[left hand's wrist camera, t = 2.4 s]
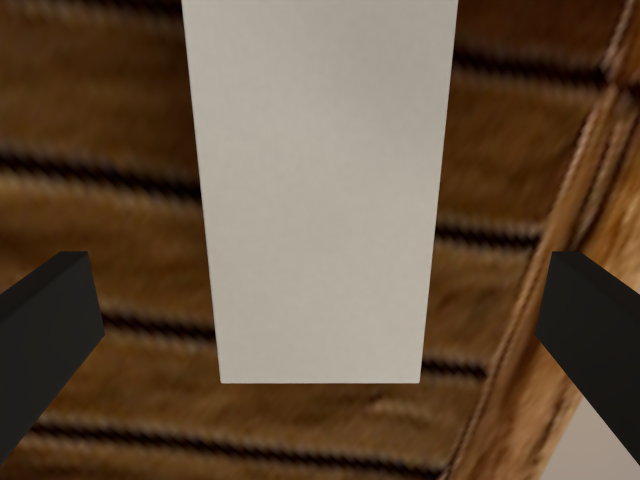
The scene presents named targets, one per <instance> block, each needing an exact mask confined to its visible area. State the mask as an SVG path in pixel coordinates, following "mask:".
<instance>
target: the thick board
mask: <svg viewBox="0 0 640 480" xmlns="http://www.w3.org/2000/svg"><path fill="white" fill-rule="evenodd" d="M457 6H458V0H182V10H183V20H184V30H185V39H186V49H187V59H188V69H189V78H190V88H191V98H192V108H193V117H194V127H195V137H196V147H197V156H198V166H199V176H200V186H201V196H202V205H203V215H204V225H205V235H206V244H207V254H208V264H209V274H210V283H211V293H212V303H213V313H214V322H215V332H216V342H217V352H218V361H219V371H220V381H221V383H419V381H420V372H421V362H422V352H423V342H424V332H425V322H426V312H427V303H428V293H429V283H430V273H431V263H432V253H433V243H434V233H435V224H436V214H437V204H438V194H439V184H440V174H441V164H442V155H443V145H444V135H445V125H446V115H447V105H448V95H449V85H450V76H451V66H452V56H453V46H454V36H455V26H456V16H457Z"/></svg>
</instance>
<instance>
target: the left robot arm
mask: <svg viewBox="0 0 640 480" xmlns="http://www.w3.org/2000/svg"><path fill="white" fill-rule="evenodd" d="M104 335H105V332H104V327H103V322H102V318H101V313H100V308H99V303H98V299H97V294H96V289H95V284H94V280H93V275H92V270H91V265H90V261H89V256H88V252H59V253H58V254H56V255H55V256H53V257H52V258H51V259H49V260H48V261H47V262H45V263H44V264H42V265H41V266H40V267H38V268H37V269H35V270H34V271H33V272H31V273H30V274H28V275H27V276H26V277H24V278H23V279H21V280H20V281H19V282H17V283H16V284H14V285H13V286H12V287H10V288H9V289H7V290H6V291H5V292H3V293H2V294H0V465H1V464H2V463H3V462H4V460H5V459H6V458H7V457H8V455H9V454H10V453H11V452H12V450H13V449H14V448H15V447H16V445H17V444H18V443H19V442H20V440H21V439H22V438H23V437H24V435H25V434H26V433H27V432H28V430H29V429H30V428H31V427H32V425H33V424H34V423H35V422H36V420H37V419H38V418H39V417H40V415H41V414H42V413H43V412H44V410H45V409H46V408H47V407H48V405H49V404H50V403H51V402H52V400H53V399H54V398H55V397H56V395H57V394H58V393H59V392H60V390H61V389H62V388H63V387H64V385H65V384H66V383H67V382H68V380H69V379H70V378H71V377H72V375H73V374H74V373H75V372H76V370H77V369H78V368H79V367H80V365H81V364H82V363H83V362H84V360H85V359H86V358H87V357H88V355H89V354H90V353H91V352H92V350H93V349H94V348H95V347H96V345H97V344H98V343H99V342H100V340H101V339H102V338H103V337H104ZM535 335H536V337H537V338H538V339H539V340H540V342H541V343H542V344H543V345H544V347H545V348H546V349H547V350H548V352H549V353H550V354H551V355H552V357H553V358H554V359H555V360H556V362H557V363H558V364H559V365H560V367H561V368H562V369H563V370H564V372H565V373H566V374H567V375H568V377H569V378H570V379H571V380H572V382H573V383H574V384H575V385H576V387H577V388H578V389H579V390H580V392H581V393H582V394H583V395H584V397H585V398H586V399H587V400H588V402H589V403H590V404H591V405H592V407H593V408H594V409H595V410H596V412H597V413H598V414H599V415H600V417H601V418H602V419H603V420H604V422H605V423H606V424H607V425H608V427H609V428H610V429H611V430H612V432H613V433H614V434H615V435H616V437H617V438H618V439H619V440H620V442H621V443H622V444H623V445H624V447H625V448H626V449H627V450H628V452H629V453H630V454H631V455H632V457H633V458H634V459H635V460H636V462H637V463H638V464H639V465H640V294H638V293H637V292H635V291H634V290H633V289H631V288H630V287H628V286H627V285H626V284H624V283H623V282H621V281H620V280H619V279H617V278H616V277H614V276H613V275H612V274H610V273H609V272H607V271H606V270H605V269H603V268H602V267H600V266H599V265H598V264H596V263H595V262H593V261H592V260H591V259H589V258H588V257H587V256H585V255H584V254H582V253H581V252H552V256H551V261H550V265H549V270H548V275H547V280H546V284H545V289H544V294H543V299H542V303H541V308H540V313H539V318H538V322H537V327H536V332H535Z"/></svg>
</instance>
